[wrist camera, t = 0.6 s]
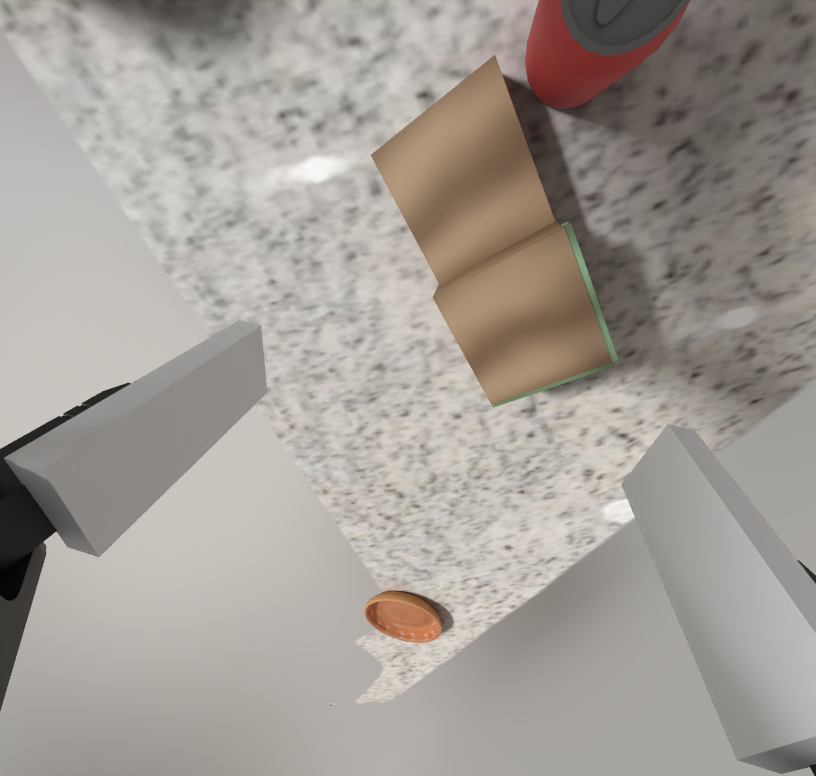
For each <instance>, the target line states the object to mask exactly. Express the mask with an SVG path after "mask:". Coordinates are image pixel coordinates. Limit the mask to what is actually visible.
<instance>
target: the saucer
mask: <svg viewBox="0 0 816 776" xmlns="http://www.w3.org/2000/svg"><path fill="white" fill-rule="evenodd" d="M365 616H366V618H367V620H368V621H369V622H370V623H371V625H373V626H374V627H375V628H376V629H378V630H379V631H381V632H382V633H384V634H386V635H388V636H390V637H393V638H396V639H399V640H403V641H407V642H415V643H423V642H429V641H433V640H435V639H437V638H438V637H439V636H440V635H441V633H442V622H441V619H440V617H439V616H438V614H437V613H436V611H435V610H434V609H433V607H432V606H431V605H430V604H429V603H427V602H426V601H425V600H423V599H421V598H419V597H417V596H415V595H412V594H409V593H405V592H399V591H388V592H383V593H381V594H379V595H376V596H375V597H373V598H371V599H370V600H369V601H368V603H367V605H366V607H365Z"/></svg>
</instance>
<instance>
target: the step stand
mask: <svg viewBox="0 0 816 776" xmlns="http://www.w3.org/2000/svg"><path fill="white" fill-rule="evenodd" d="M371 156H372V158H373V160H374V162H375V164H376V166H377V168H378V170H379V171H380V173H381V175H382V177H383V179H384V181H385V183H386V185H387V186H388V188H389V190H390V192H391V194H392V196H393V198H394V200H395V201H396V203H397V205H398V207H399V209H400V211H401V213H402V215H403V217H404V218H405V220H406V222H407V224H408V226H409V228H410V230H411V232H412V233H413V235H414V237H415V239H416V241H417V243H418V245H419V247H420V249H421V250H422V252H423V254H424V256H425V258H426V260H427V262H428V264H429V265H430V267H431V269H432V271H433V273H434V275H435V277H436V279H437V280H438V282H439V285H438V288H437V290H436V292H435V294H434V296H433V299H434V301H435V302H436V304H437V306H438V308H439V310H440V312H441V313H442V315H443V317H444V319H445V321H446V322H447V324H448V326H449V328H450V330H451V332H452V333H453V335H454V337H455V339H456V341H457V342H458V344H459V346H460V348H461V350H462V352H463V353H464V355H465V357H466V359H467V361H468V363H469V364H470V366H471V368H472V370H473V372H474V373H475V375H476V377H477V379H478V381H479V383H480V384H481V386H482V388H483V390H484V392H485V393H486V395H487V397H488V399H489V401H490V403H491V404H492V406H493V407H496V406H499V405H502V404H505V403H508V402H511V401H514V400H517V399H520V398H523V397H526V396H529V395H532V394H535V393H538V392H540V391H543V390H546V389H549V388H552V387H555V386H558V385H561V384H564V383H567V382H570V381H573V380H576V379H579V378H582V377H584V376H587V375H590V374H593V373H596V372H599V371H602V370H605V369H608V368H611V367H614V366H613V363H612V362H613V361H616V360H618V357H617V354H616V351H615V348H614V345H613V343H612V340H611V337H610V334H609V331H608V328H607V325H606V322H605V319H604V317H603V314H602V311H601V308H600V305H599V302H598V299H597V296H596V293H595V290H594V288H593V285H592V282H591V279H590V276H589V273H588V270H587V267H586V264H585V262H584V259H583V256H582V253H581V250H580V247H579V244H578V241H577V238H576V236H575V233H574V230H573V227H572V224H571V223H569V222H568V221H567V222H565V223H563V224H562V225H560V224H559V223H557V222H556V221H555V219H554V216H553V214H552V211H551V208H550V205H549V203H548V200H547V197H546V194H545V192H544V189H543V186H542V183H541V181H540V178H539V175H538V172H537V169H536V167H535V164H534V161H533V158H532V156H531V153H530V150H529V147H528V145H527V142H526V139H525V136H524V134H523V131H522V128H521V125H520V123H519V120H518V117H517V114H516V112H515V109H514V106H513V103H512V101H511V98H510V95H509V92H508V90H507V87H506V84H505V81H504V79H503V76H502V73H501V70H500V68H499V65H498V62H497V59H496V57H495V55H494V56H493V57H492V58H491V59H489V60H488V61H487V62H486V63H484V64H483V65H482V66H481V67H479V68H478V69H477V70H476V71H474V72H473V73H472V74H471V75H469V76H468V77H467V78H466V79H464V80H463V81H462V82H461V83H460V84H458V85H457V86H456V87H455V88H453V89H452V90H451V91H450V92H448V93H447V94H446V95H445V96H443V97H442V98H441V99H440V100H438V101H437V102H436V103H435V104H433V105H432V106H431V107H430V108H429V109H427V110H426V111H425V112H424V113H422V114H421V115H420V116H419V117H417V118H416V119H415V120H414V121H412V122H411V123H410V124H409V125H407V126H406V127H405V128H404V129H402V130H401V131H400V132H399V133H398V134H396V135H395V136H394V137H393V138H391V139H390V140H389V141H388V142H386V143H385V144H384V145H383V146H381V147H380V148H379V149H378V150H376V151H375V152H374V153H373V154H371Z"/></svg>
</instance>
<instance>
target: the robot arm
mask: <svg viewBox="0 0 816 776" xmlns="http://www.w3.org/2000/svg"><path fill="white" fill-rule="evenodd" d="M266 393H267V386H266V375H265V364H264V353H263V342H262V332H261V325H257V324H253V323H249V322H245V321H241V320H239V321H237V322H236V323H234V324H232V325H231V326H229V327H227V328H226V329H224V330H222V331H220V332H219V333H217V334H215V335H214V336H212V337H210V338H209V339H207V340H205V341H203V342H202V343H200V344H198V345H196V346H195V347H193V348H191V349H190V350H188V351H186V352H184V353H183V354H181V355H179V356H178V357H176V358H174V359H172V360H171V361H169V362H167V363H166V364H164V365H162V366H160V367H159V368H157V369H155V370H154V371H152V372H150V373H148V374H147V375H145V376H143V377H142V378H140V379H138V380H137V381H135V382H133V383H126V384H123V385H120V386H117V387H114V388H111V389H108V390H105V391H103V392H101V393H99V394H97V395H96V396H94V397H92V398H90V399H88V400H87V401H85V402H83V403H82V405H81V406H76V407H74V408H72V409H71V410H69V411H67V412H65V413H64V415H63V416H62V417H60V416H58V417H56V418H55V419H53V420H51V421H49V422H47V423H46V424H44V425H42V426H40V427H39V428H37V429H35V430H33V431H31V432H30V433H28V434H26V435H24V436H23V437H21V438H19V439H17V440H15V441H14V442H12V443H10V444H8V445H7V446H5V447H3V448H1V449H0V710H1V707H2V704H3V700H4V697H5V693H6V690H7V686H8V683H9V680H10V676H11V673H12V669H13V666H14V662H15V659H16V655H17V652H18V649H19V646H20V642H21V639H22V635H23V631H24V628H25V624H26V622H27V618H28V615H29V611H30V608H31V604H32V601H33V597H34V594H35V591H36V587H37V584H38V581H39V577H40V574H41V570H42V567H43V563H44V560H45V557H46V545H45V544H44V543H43V542H44V541H45V540H46V539H47V538H48V537H50V536H51V535H52V534H53V533H55V532H57V533H58V534H59V536H60V537H61V538H62V540H63V541H64V543H65V544H66V545H67V547H69V548H72V549H75V550H78V551H82V552H85V553H88V554H91V555H94V556H97V557H100V556H101V555H102V554H103V553H104V552H105V551H106V550H107V549H108V548H109V547H110V546H111V545H112V544H113V543H114V542H115V541H116V540H117V539H118V538H119V537H120V536H121V535H122V534H123V533H124V532H125V531H126V530H127V529H128V528H129V527H130V526H131V525H132V524H133V523H134V522H135V521H136V520H137V519H138V518H139V517H140V516H142V515H143V514H144V513H145V512H146V511H147V510H148V509H149V508H150V507H151V506H152V505H153V504H154V503H155V502H156V501H157V500H158V499H159V498H160V497H161V496H162V495H163V494H164V493H165V492H166V491H167V490H168V489H169V488H170V487H171V486H172V485H173V484H174V483H175V482H176V481H177V480H178V479H179V478H180V477H181V476H182V475H183V474H184V473H185V472H186V471H188V470H189V469H190V468H191V467H192V466H193V465H194V464H195V463H196V462H197V461H198V460H199V459H200V458H201V457H202V456H203V455H204V454H205V453H206V452H207V451H208V450H209V449H210V448H211V447H212V446H213V445H214V444H215V443H216V442H217V441H218V440H219V439H220V438H221V437H222V436H223V435H224V434H225V433H226V432H227V431H228V430H229V429H230V428H231V427H232V426H233V425H234V424H236V422H238V421H239V420H240V419H241V418H242V417H243V416H244V415H245V414H246V413H247V412H248V411H249V410H250V409H251V408H252V407H253V406H254V405H255V404H256V403H257V402H258V401H259V400H260V399H261V398H262V397H263V396H264V395H265V394H266ZM622 487H623V489H624V492H625V494H626V497H627V499H628V501H629V504H630V506H631V508H632V511H633V513H634V516H635V518H636V520H637V523H638V525H639V527H640V530H641V532H642V535H643V537H644V539H645V542H646V544H647V547H648V549H649V551H650V553H651V556H652V558H653V561H654V563H655V566H656V568H657V570H658V573H659V575H660V577H661V580H662V582H663V585H664V587H665V590H666V592H667V594H668V597H669V599H670V601H671V604H672V606H673V608H674V611H675V613H676V616H677V618H678V620H679V623H680V625H681V628H682V630H683V632H684V635H685V637H686V640H687V642H688V644H689V647H690V649H691V651H692V654H693V656H694V658H695V661H696V663H697V665H698V668H699V670H700V673H701V675H702V678H703V680H704V682H705V685H706V687H707V690H708V692H709V694H710V697H711V699H712V702H713V704H714V706H715V709H716V711H717V713H718V716H719V718H720V721H721V723H722V725H723V728H724V730H725V732H726V735H727V737H728V739H729V742H730V744H731V747H732V749H733V752H734V754H735V756H736V759H737V760H739V761H743V762H746V763H749V764H752V765H755V766H758V767H762V768H764V769H767V770H771V771H774V772H777V773H780V774H783V773H787V772H791V771H795V770H799V769H803V768H808V767H810V768H811V770H812V772H813V773H814V775H815V776H816V575H814V574H813V573H812V572H811V571H810V570H809V569H808V568H807V567H806V566H804V565H803V564H802V563H801V562H800V561H799V560H796V558H795V557H794V556H793V555H792V553H791V552H790V551H789V549H788V548H787V547H786V546H785V544H784V543H783V542H782V541H781V539H780V538H779V537H778V536H777V534H776V533H775V532H774V531H773V529H772V528H771V527H770V526H769V524H768V523H767V522H766V520H765V519H764V518H763V517H762V515H761V514H760V513H759V512H758V511H757V509H756V508H755V507H754V505H753V504H752V503H751V502H750V500H749V499H748V498H747V496H746V495H745V494H744V493H743V492H742V490H741V489H740V488H739V486H738V485H737V484H736V482H735V481H734V480H733V479H732V477H731V476H730V475H729V474H728V472H727V471H726V470H725V469H724V467H723V466H722V465H721V464H720V462H719V461H718V460H717V459H716V457H715V456H714V455H713V453H712V452H711V451H710V450H709V448H708V447H707V446H706V445H705V443H704V442H703V441H702V440H701V438H700V437H699V436H698V434H697V433H696V432H695V431H694V430H690V429H686V428H682V427H678V426H674V425H669V424H668V425H667V426H666V427H665V429H664V430H663V431H662V433H661V434H660V435H659V436H658V438H657V439H656V440H655V442H654V443H653V444H652V446H651V447H650V448H649V449H648V451H647V452H646V453H645V455H644V456H643V457H642V459H641V460H640V461H639V463H638V464H637V465H636V466H635V468H634V469H633V470H632V472H631V473H630V474H629V476H628V477H627V478H626V479H625V481H624V482H623V483H622Z"/></svg>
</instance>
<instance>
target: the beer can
mask: <svg viewBox="0 0 816 776" xmlns="http://www.w3.org/2000/svg"><path fill="white" fill-rule="evenodd" d="M689 2H690V0H539V2H538V5H537V9H536V13H535V16H534V20H533V23H532V27H531V31H530V34H529V38H528V41H527V50H526V59H525V65H526V71H527V78H528V82H529V84H530V86H531V88H532V90H533V92H534V94H535V95H536V96H537V97H538V98H539V99H540V100H541V101H542V102H543V103H544V104H545V105H548V106H551V107H554V108H557V109H565V108H575V107H577V106H579V105H581V104H584V103H586V102H588V101H590V100H592V99H593V98H594V97H596V96H597V95H598V94H600V93H601V92H602V91H604V90H605V89H607V88H608V87H609V86H611V85H612V84H613V83H615V82H616V81H617V80H619V79H620V78H622V77H623V76H624V75H626V74H627V73H628V72H630V71H631V70H632V69H634V68H635V67H636V66H637V65H639V64H640V63H641V62H642V61H644V60H645V59H646V58H647V57H649V56H650V55H651V54H652V53H653V52H655V51H656V50H657V49H658V48H659V46H660V45H661V44H662V43H663V41H664V40H665V39H666V38H667V36H668V35H669V34H670V33H671V31H672V30H673V29H674V28H675V26H676V25H677V24H678V22H679V21H680V19H681V17H682V15H683V13H684V12H685V10H686V8H687V6H688V4H689Z"/></svg>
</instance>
